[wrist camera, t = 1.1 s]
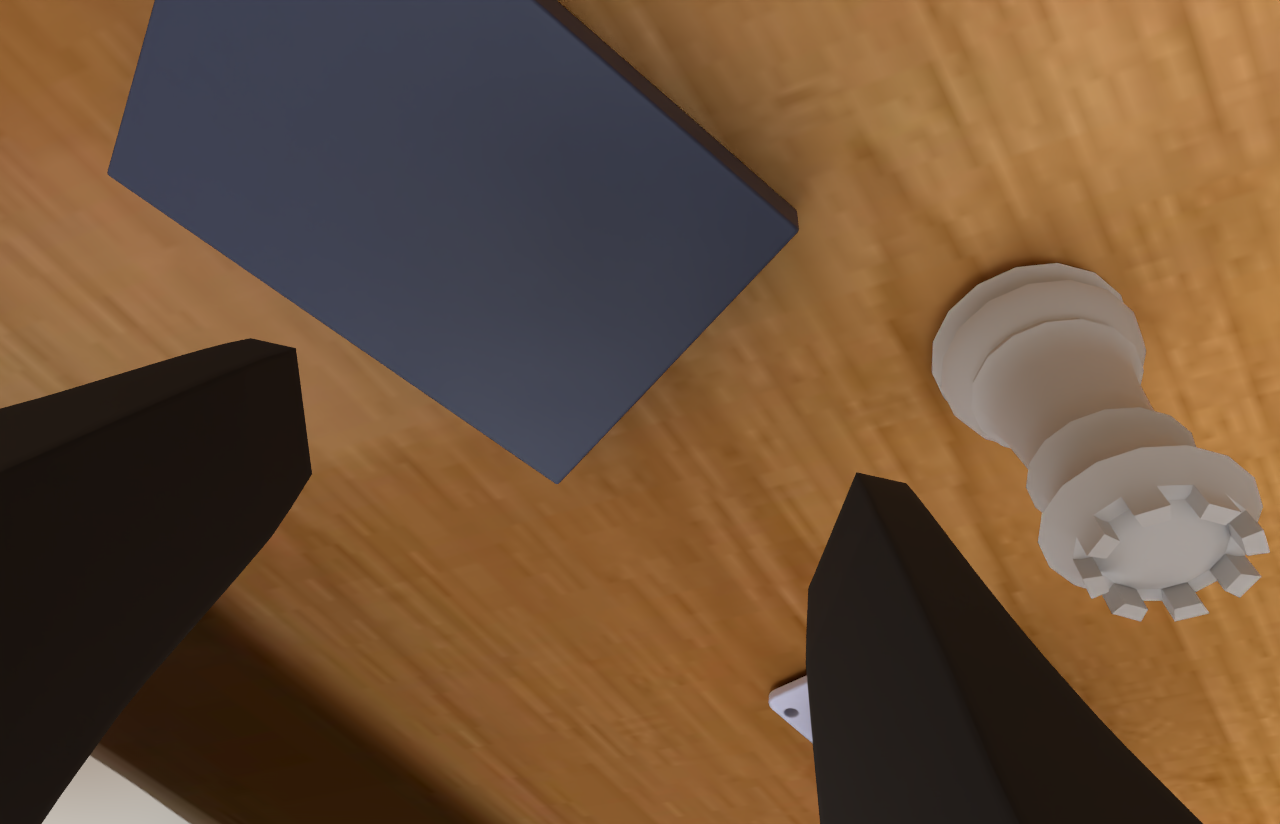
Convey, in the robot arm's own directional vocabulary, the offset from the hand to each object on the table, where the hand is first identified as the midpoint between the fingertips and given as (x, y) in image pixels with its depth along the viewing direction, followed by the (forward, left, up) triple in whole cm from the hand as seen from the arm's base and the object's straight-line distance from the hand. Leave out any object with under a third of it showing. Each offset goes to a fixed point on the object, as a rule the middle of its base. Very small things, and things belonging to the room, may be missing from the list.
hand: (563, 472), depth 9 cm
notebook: (+4, +3, -10) cm, 12 cm away
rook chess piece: (-8, -5, -10) cm, 14 cm away
